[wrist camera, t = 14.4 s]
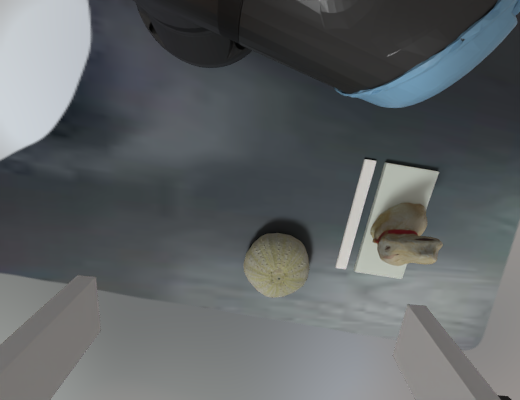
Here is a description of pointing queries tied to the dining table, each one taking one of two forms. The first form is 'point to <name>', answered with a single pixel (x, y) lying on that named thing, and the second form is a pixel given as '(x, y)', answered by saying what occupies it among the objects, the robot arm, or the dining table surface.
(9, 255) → the dining table surface
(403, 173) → the mat
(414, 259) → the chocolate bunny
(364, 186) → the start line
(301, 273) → the sea urchin shell
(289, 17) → the robot arm
